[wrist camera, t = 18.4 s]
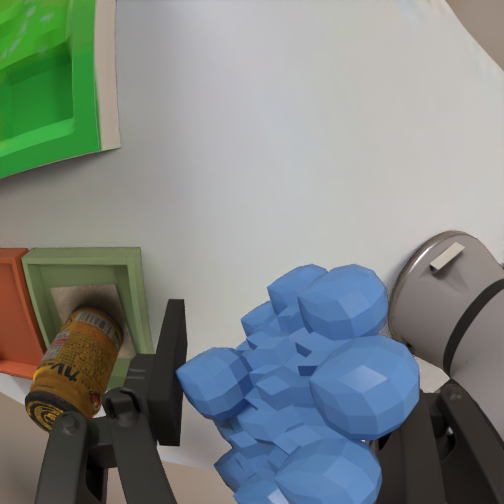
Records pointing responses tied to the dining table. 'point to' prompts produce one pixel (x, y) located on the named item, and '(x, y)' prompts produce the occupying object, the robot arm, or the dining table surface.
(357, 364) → the grapes
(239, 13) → the dining table surface
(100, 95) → the tray
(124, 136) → the dining table surface
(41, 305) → the green tray
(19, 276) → the terracotta tray
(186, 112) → the dining table surface
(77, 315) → the condiment
